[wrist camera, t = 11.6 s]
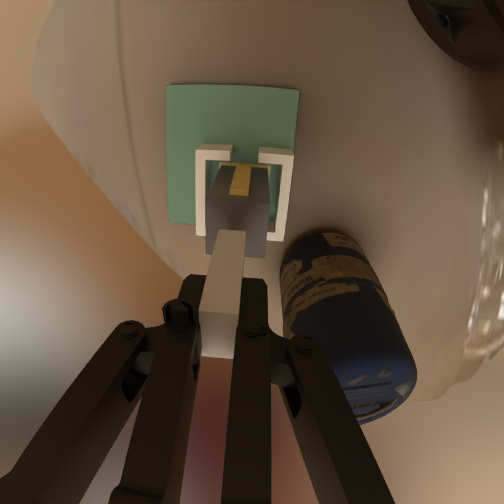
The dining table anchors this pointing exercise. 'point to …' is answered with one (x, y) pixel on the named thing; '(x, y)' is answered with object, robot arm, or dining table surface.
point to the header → (265, 156)
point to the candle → (348, 322)
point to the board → (223, 134)
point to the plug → (239, 207)
